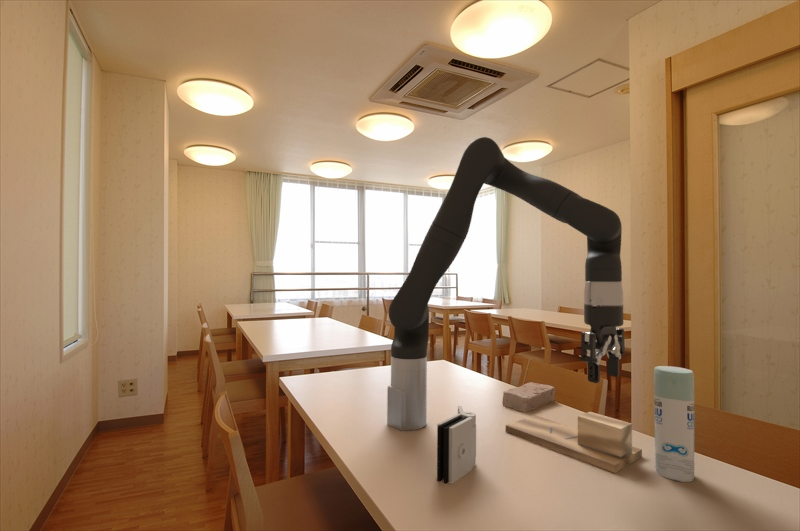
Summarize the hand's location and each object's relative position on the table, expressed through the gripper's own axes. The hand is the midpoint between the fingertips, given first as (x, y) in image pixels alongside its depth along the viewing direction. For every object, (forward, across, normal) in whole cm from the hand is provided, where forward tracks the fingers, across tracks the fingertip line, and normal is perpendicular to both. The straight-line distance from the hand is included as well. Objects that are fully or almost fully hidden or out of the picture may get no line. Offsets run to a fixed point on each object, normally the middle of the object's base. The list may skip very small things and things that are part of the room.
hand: (603, 379), depth 86 cm
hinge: (+16, +29, -15) cm, 37 cm away
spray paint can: (+16, -3, +12) cm, 20 cm away
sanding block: (+15, 0, 0) cm, 15 cm away
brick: (+17, -18, -31) cm, 40 cm away
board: (+16, 0, -8) cm, 18 cm away
